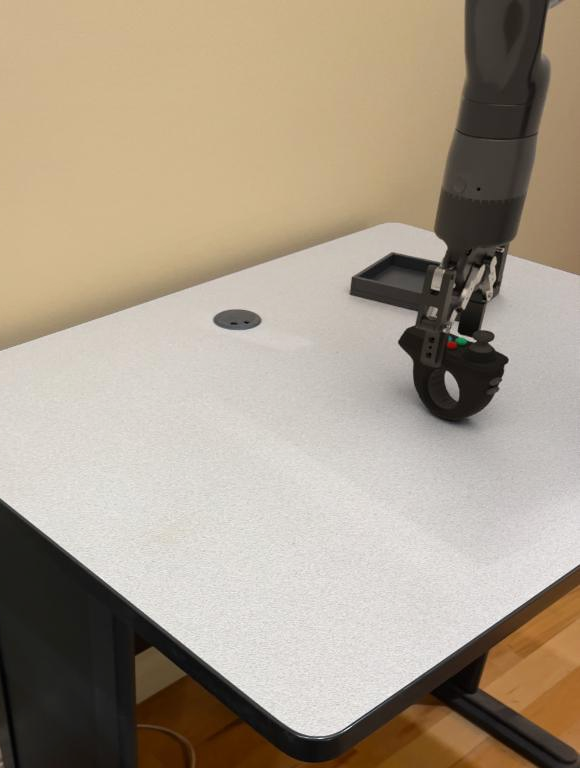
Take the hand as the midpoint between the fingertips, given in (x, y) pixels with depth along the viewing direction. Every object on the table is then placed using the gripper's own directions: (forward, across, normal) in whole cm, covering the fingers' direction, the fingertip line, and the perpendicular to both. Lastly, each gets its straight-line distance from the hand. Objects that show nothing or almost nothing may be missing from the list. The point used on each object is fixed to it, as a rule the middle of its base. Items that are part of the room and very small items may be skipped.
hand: (450, 349), depth 92 cm
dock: (+7, +28, +16) cm, 33 cm away
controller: (+7, 0, 0) cm, 7 cm away
